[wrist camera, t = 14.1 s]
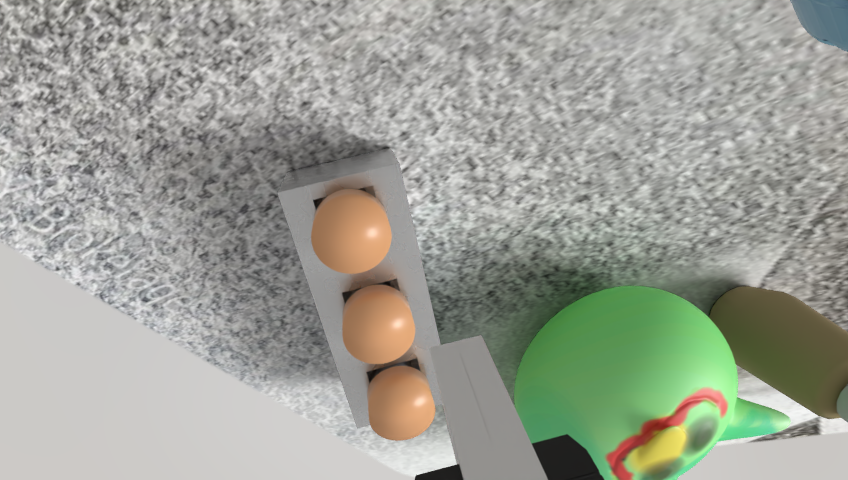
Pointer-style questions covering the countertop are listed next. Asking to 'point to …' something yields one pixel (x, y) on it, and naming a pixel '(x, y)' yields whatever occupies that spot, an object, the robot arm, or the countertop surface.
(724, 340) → the toy bird
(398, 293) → the knob middle
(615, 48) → the countertop surface
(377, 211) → the knob
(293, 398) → the countertop surface
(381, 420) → the knob
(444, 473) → the robot arm
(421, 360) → the mount
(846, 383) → the squeeze bottle
